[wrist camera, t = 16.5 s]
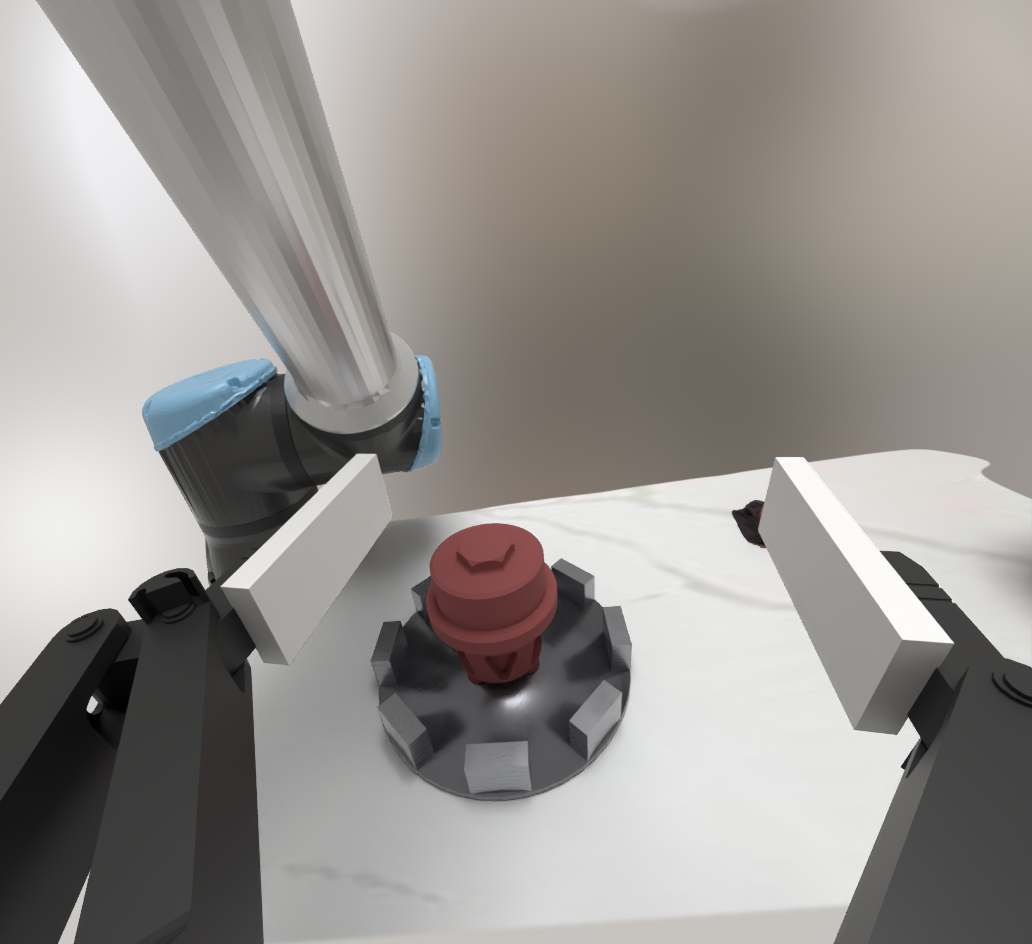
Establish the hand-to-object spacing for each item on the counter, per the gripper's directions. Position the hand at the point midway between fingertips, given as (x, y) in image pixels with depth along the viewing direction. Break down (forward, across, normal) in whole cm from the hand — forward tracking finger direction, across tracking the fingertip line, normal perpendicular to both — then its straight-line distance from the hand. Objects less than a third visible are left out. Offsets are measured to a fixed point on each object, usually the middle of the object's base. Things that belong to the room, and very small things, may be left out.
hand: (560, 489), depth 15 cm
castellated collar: (+11, -6, -25) cm, 28 cm away
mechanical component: (+11, -7, -24) cm, 27 cm away
